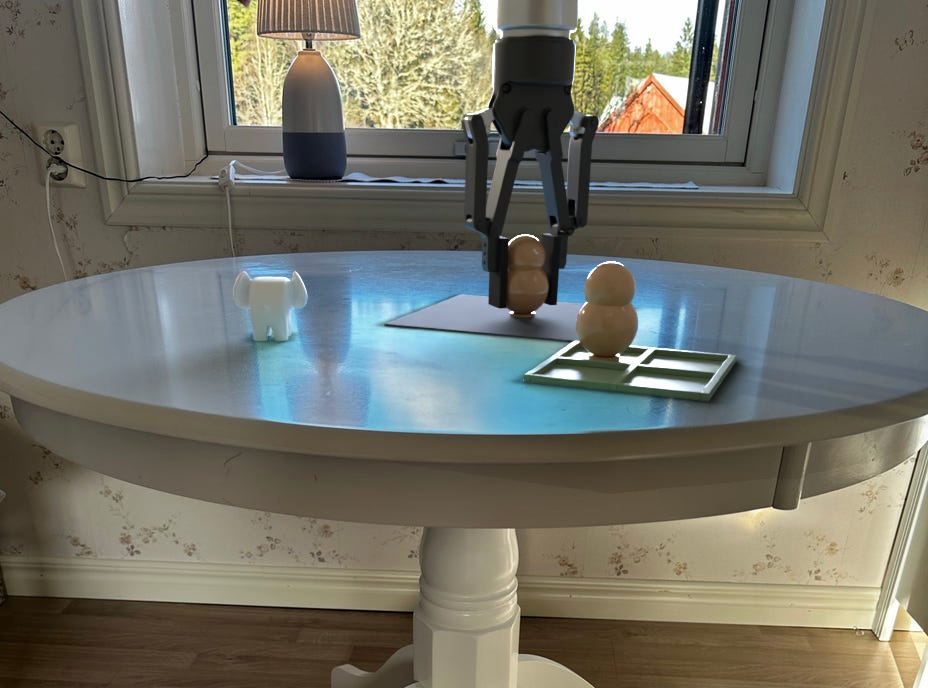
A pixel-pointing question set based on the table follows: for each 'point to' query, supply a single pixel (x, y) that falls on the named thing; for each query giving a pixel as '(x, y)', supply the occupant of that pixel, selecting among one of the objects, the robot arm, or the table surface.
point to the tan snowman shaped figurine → (526, 276)
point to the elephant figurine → (270, 303)
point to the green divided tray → (637, 371)
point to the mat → (495, 319)
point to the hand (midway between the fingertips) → (522, 304)
